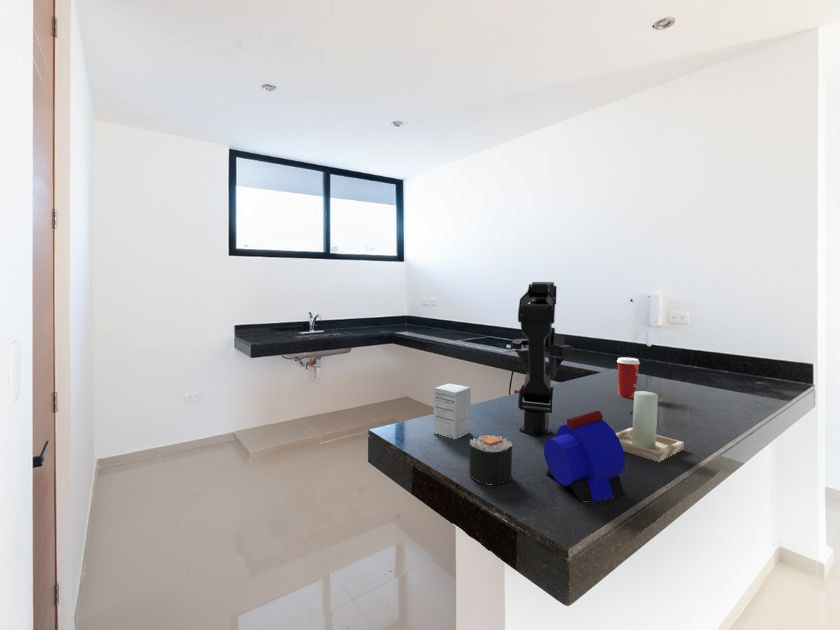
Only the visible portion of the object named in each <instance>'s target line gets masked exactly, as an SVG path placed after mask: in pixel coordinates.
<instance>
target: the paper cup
mask: <svg viewBox="0 0 840 630" xmlns="http://www.w3.org/2000/svg"><path fill="white" fill-rule="evenodd" d="M616 362H617V392H618V397H620V398H624V399H625V398H626V399H634V392H636V391H637V386H638V384H637V383H638V375H639V368H640V367H639V366H640V364H641V362H640V360H639V359H638V358H635V357H624V356H623V357H618V358H617V360H616Z"/></svg>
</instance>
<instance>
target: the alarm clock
mask: <svg viewBox="0 0 840 630" xmlns="http://www.w3.org/2000/svg"><path fill="white" fill-rule="evenodd" d="M615 433H616V432H615V431H614V429H613V428H612V427H611V426H610V425H609V424H608V422H606V421H605V420H604V418H603V414H602V412H601V411H600V410H595V411H591V412H588V413H585V414H581V415H578V416H574V417H571V418H568V419H566V424H563V425H560V426H559V428H558V429H557V432H556V436H554V437H552V438H549V439H547V440H546V441H544V444H543V455H544V460H545V462H546V465H547V467H548V469H547V471H546V473H545V475H546V474H547V475H548V476H549V475H551V476H552V477H553V479H555V481H557V483H559V484H560V485H562V486H565V487H566V486H570V488H571V490H572V491H573V492H574V494H575V495H576V496H577V498H578V499H579V501H580V500H581V501H593V502H596V501H595V500H599V499H605V498H612V497H618V498H620V497H619V496H625V491H624V488H623V485H622V481H621V479H620V475H621V474H623V472H624V469H625V467H626V466H625V462H626V461H625V459H626V457H625V453H624V452H625V451H623V448H622V445H621V443H620V441H619V438H618V437H617V435H616V434H615ZM547 475H546V476H547ZM612 499H613V498H612ZM581 501H580V502H581ZM599 501H600V500H599Z"/></svg>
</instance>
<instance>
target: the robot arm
mask: <svg viewBox="0 0 840 630" xmlns="http://www.w3.org/2000/svg"><path fill="white" fill-rule="evenodd" d="M556 305H557V285H555V282H554V281H532V282H531V283H529V284H528V288H527V291H526V293H524V295H522V296H521V297H520V299H519V303H518V312H517V322H518V323H520V331H521V332H522V334H523V335H524V336H525V337H526V338H516V339H513V341H512V342H511V349H513V350H514V353H516V354H517V355H518V357H519V359H520V361H521V363H522V365H523V368H524V370H525V373H526V374H525V377H524V384H522V385H521V388H520V389H519V391H518V401H517V402H518V405H517V407H518V409H519V410H520V411H524V415H523V427H519V429H518V430H519V431H520V432H523V433H526V434H528V435H532V436H534V437H536V438H537V437H538V438H539V437H542V436H546V435H548V434H551V433H553V430H552V429H550V428H549V415H550V414H553V409H554V407H553V405H554V404H553V403H554V387H553V386H552V380H554V379H555V378H556V375H557V374H558V370H559V369H560V366H561V364H562V363H563V361H564V360H566V359H569V358H570V357H572V356H574V348H573V347H572V345H567V344H564V342H565V338H566V337H565V336H563V335H561V334H559V333H556V329H555V327H553V324H555V318H556V317H555V316H556V315H555V314H556ZM546 352H547V353H549V354H550V355H549V356H548V365H549V366H548V368H549V373H548V372H546Z"/></svg>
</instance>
